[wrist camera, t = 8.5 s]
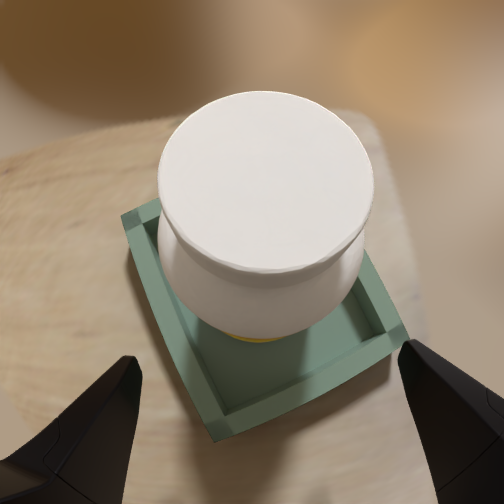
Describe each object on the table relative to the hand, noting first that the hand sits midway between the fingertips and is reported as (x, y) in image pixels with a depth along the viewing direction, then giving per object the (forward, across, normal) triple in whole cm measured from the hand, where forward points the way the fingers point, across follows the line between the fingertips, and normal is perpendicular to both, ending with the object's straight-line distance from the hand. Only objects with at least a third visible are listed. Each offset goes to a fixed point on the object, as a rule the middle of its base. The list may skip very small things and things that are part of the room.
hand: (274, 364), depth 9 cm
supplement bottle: (+9, 0, +3) cm, 9 cm away
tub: (+9, 0, +3) cm, 10 cm away
